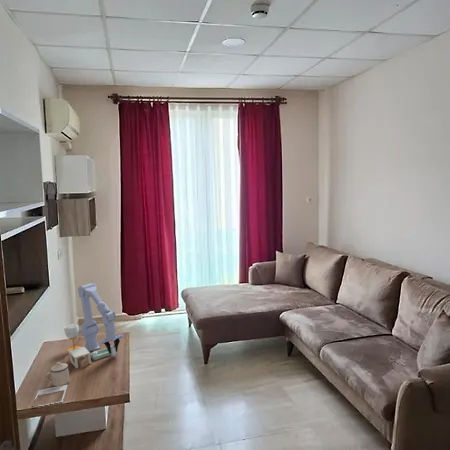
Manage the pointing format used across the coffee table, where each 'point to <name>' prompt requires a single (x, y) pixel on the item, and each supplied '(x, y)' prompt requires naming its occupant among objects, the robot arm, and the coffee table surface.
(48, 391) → the photo frame
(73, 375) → the coffee table surface
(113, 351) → the round-ended grey cylinder
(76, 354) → the shelf
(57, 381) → the teacup with lid
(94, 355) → the tray
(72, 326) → the cup
